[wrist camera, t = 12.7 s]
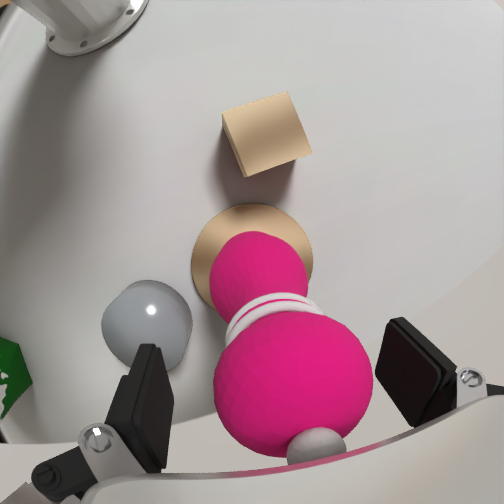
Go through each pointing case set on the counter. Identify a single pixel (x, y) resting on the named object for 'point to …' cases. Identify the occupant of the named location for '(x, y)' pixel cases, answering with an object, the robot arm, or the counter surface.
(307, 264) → the cork trivet
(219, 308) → the pepper mill
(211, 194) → the counter surface
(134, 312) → the grey rounded dome
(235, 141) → the oak block
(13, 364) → the milk carton
